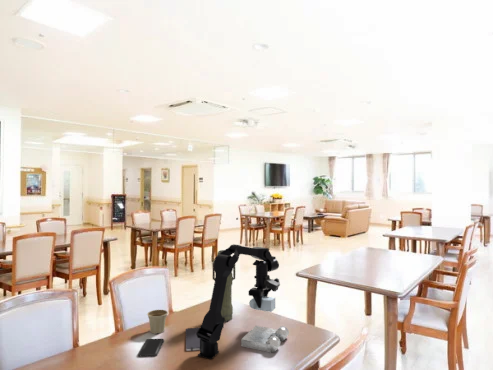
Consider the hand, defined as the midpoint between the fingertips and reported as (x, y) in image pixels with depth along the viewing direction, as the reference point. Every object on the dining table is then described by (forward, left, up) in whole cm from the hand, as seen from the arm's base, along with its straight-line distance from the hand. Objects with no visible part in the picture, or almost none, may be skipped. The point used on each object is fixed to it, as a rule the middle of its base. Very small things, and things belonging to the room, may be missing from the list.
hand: (262, 306), depth 164 cm
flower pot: (-44, -23, -11) cm, 51 cm away
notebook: (-21, -22, -12) cm, 33 cm away
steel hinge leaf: (+7, -13, -11) cm, 18 cm away
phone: (-35, -38, -11) cm, 53 cm away
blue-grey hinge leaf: (0, 0, -1) cm, 1 cm away
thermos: (-23, +4, -11) cm, 26 cm away
